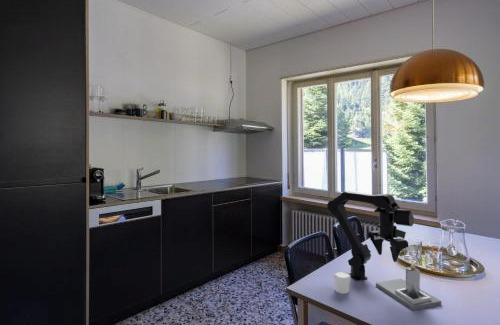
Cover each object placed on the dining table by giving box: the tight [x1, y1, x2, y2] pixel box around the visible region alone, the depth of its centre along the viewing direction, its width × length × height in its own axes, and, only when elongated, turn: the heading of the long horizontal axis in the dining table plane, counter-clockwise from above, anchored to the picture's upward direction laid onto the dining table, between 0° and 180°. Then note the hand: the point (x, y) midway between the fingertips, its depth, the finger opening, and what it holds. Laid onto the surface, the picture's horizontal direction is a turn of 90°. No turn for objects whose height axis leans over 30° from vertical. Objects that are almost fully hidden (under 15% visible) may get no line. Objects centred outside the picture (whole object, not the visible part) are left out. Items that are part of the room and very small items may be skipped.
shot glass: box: [333, 271, 352, 295], centre depth 123 cm, size 7×7×7 cm
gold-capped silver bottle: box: [405, 262, 421, 299], centre depth 115 cm, size 5×5×14 cm
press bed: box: [375, 278, 442, 311], centre depth 120 cm, size 20×14×3 cm
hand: (387, 258), depth 126 cm, fingers open, 9 cm apart
